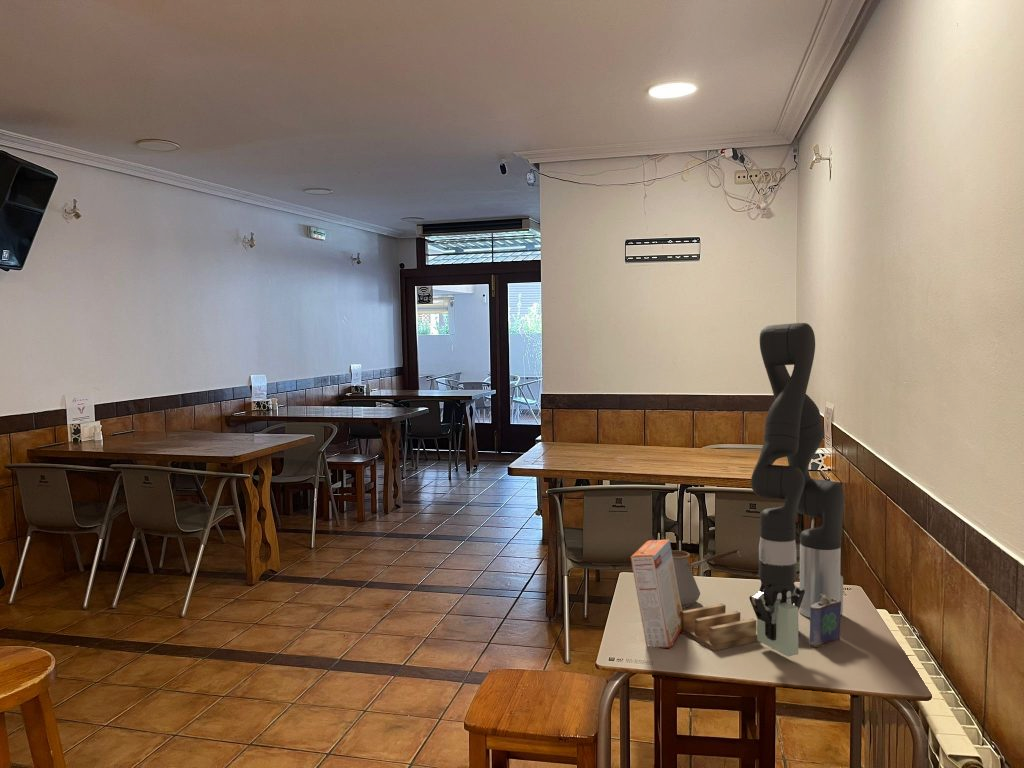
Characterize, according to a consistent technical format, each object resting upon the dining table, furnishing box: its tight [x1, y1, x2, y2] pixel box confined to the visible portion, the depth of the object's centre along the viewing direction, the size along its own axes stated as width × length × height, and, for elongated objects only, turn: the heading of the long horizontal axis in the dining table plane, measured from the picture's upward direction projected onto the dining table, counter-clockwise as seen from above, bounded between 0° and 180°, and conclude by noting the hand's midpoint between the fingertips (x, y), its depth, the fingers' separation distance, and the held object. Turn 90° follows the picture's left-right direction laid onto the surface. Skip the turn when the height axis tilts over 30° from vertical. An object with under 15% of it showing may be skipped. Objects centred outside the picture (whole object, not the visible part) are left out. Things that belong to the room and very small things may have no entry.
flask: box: [809, 594, 841, 649], centre depth 162 cm, size 9×3×11 cm, turn 121°
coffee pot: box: [671, 548, 742, 609], centre depth 186 cm, size 21×12×15 cm, turn 75°
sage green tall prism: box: [756, 599, 799, 657], centre depth 155 cm, size 3×9×10 cm, turn 23°
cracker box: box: [630, 539, 683, 649], centre depth 166 cm, size 14×6×21 cm, turn 153°
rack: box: [680, 603, 758, 651], centre depth 166 cm, size 13×13×4 cm
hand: (777, 637), depth 155 cm, fingers closed on sage green tall prism, 2 cm apart
